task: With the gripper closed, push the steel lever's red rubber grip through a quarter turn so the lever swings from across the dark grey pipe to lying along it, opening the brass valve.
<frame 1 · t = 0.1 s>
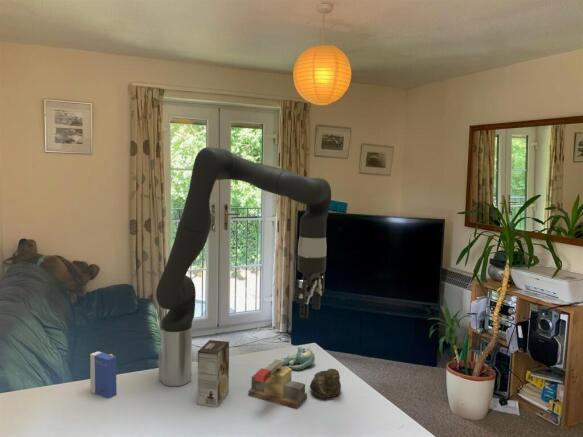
hand: (309, 313, 119), 29 cm above the table, tool pointing down, fingers open, 8 cm apart
seashell: (323, 391, 137), on the table
stuffed animal: (297, 366, 155), on the table
walkman: (103, 394, 132), on the table
valve plinth: (277, 396, 133), on the table
coffee box: (213, 399, 130), on the table
valve lever: (269, 371, 127), point 10 cm above the table, hinge at 0.0°
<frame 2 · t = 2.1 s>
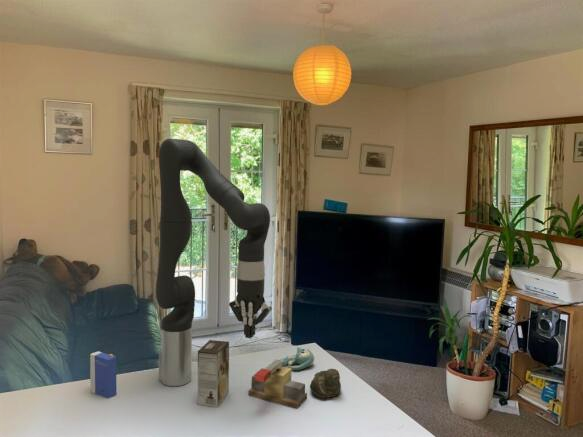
hand: (249, 337, 124), 21 cm above the table, tool pointing down, fingers closed
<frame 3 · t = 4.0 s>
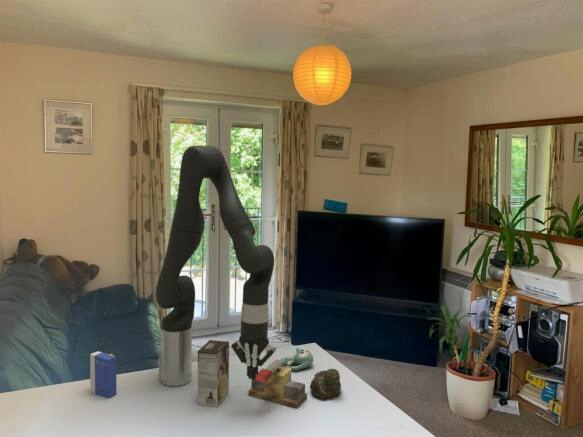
hand: (252, 377, 124), 9 cm above the table, tool pointing down, fingers closed
valve lever: (270, 371, 127), point 10 cm above the table, hinge at 1.5°, touching gripper
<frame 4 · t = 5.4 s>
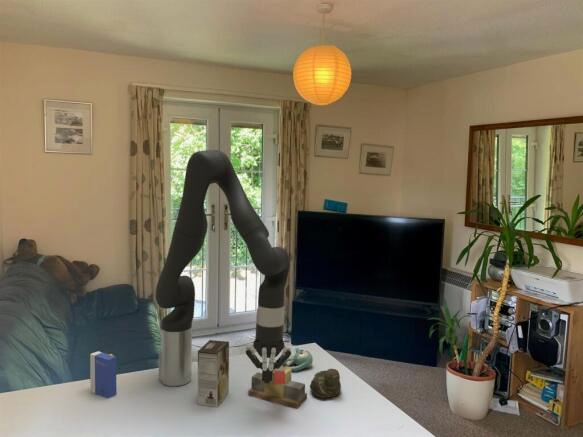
hand: (266, 382, 122), 9 cm above the table, tool pointing down, fingers closed
valve lever: (279, 372, 126), point 10 cm above the table, hinge at 29.1°, touching gripper
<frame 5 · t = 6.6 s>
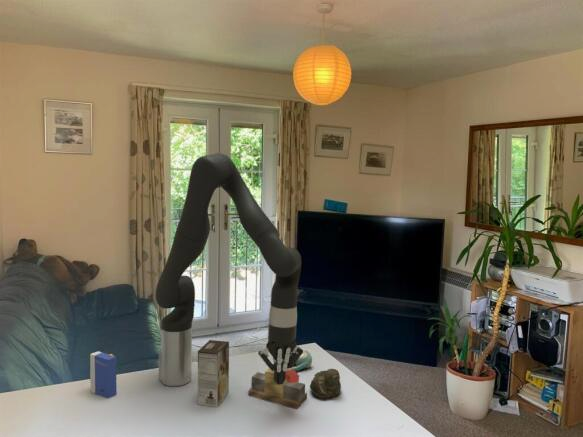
hand: (279, 383, 122), 9 cm above the table, tool pointing down, fingers closed
valve lever: (285, 372, 127), point 10 cm above the table, hinge at 49.0°, touching gripper
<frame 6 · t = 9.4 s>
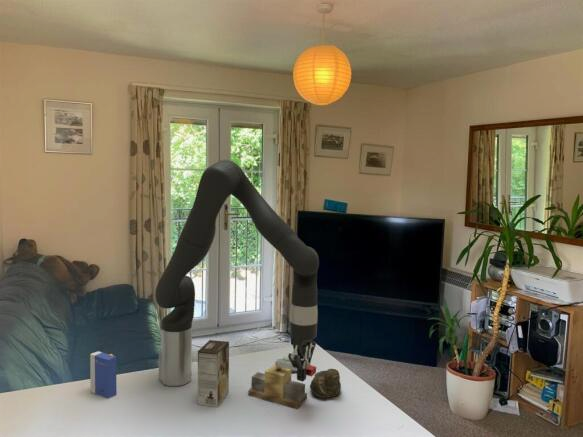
hand: (301, 379, 124), 9 cm above the table, tool pointing down, fingers closed
valve lever: (294, 368, 129), point 10 cm above the table, hinge at 88.0°
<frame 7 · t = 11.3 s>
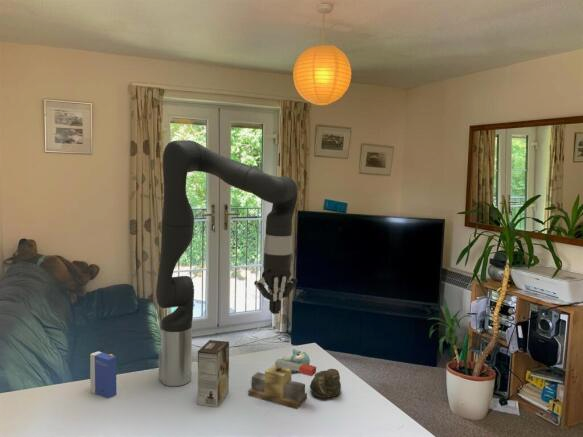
hand: (274, 312, 122), 28 cm above the table, tool pointing down, fingers closed
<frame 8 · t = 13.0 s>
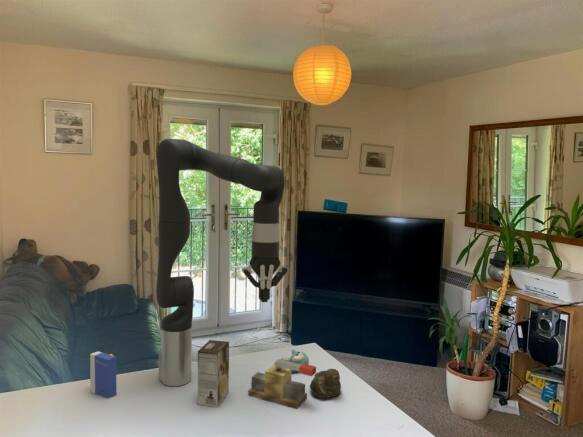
hand: (264, 301, 123), 31 cm above the table, tool pointing down, fingers closed
at the end: valve lever at +88° (first picture: +0°) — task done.
